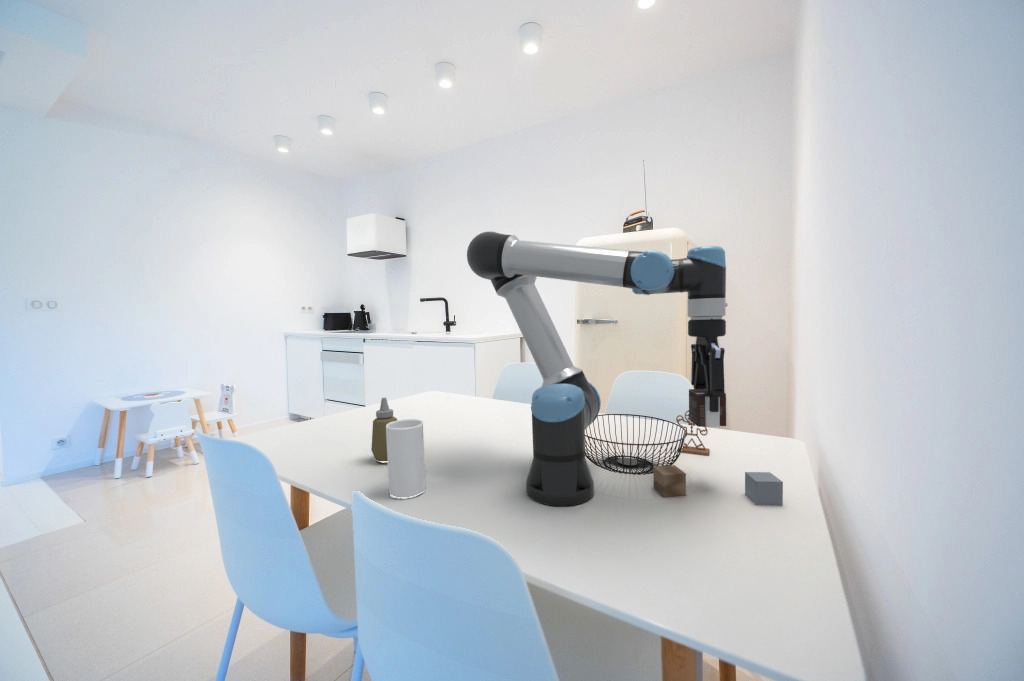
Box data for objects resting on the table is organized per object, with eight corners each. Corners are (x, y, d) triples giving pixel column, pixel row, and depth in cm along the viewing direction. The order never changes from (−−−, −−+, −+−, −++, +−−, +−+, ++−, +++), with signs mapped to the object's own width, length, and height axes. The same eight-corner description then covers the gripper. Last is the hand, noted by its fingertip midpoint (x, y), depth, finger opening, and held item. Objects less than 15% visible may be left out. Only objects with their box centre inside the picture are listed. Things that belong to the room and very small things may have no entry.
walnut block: (663, 497, 87) (663, 475, 86) (653, 488, 92) (653, 466, 91) (686, 496, 87) (685, 473, 87) (674, 486, 92) (674, 465, 92)
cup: (432, 487, 96) (430, 420, 95) (410, 502, 88) (407, 429, 87) (405, 482, 99) (402, 418, 98) (381, 496, 92) (377, 426, 91)
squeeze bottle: (396, 465, 111) (393, 400, 110) (367, 466, 111) (364, 401, 110) (405, 455, 119) (402, 394, 118) (377, 456, 119) (374, 395, 118)
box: (715, 420, 93) (715, 388, 93) (727, 427, 87) (726, 393, 87) (688, 420, 94) (688, 388, 93) (697, 427, 88) (697, 393, 87)
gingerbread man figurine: (709, 451, 114) (709, 409, 113) (708, 456, 110) (708, 412, 110) (676, 447, 118) (675, 407, 118) (674, 451, 115) (673, 410, 114)
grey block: (756, 505, 82) (756, 481, 82) (745, 494, 87) (745, 471, 87) (782, 506, 81) (782, 481, 81) (769, 495, 86) (770, 472, 86)
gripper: (743, 318, 79) (743, 434, 80) (708, 317, 98) (709, 412, 99) (703, 319, 80) (704, 434, 81) (676, 318, 99) (677, 412, 100)
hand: (706, 421), depth 90 cm, fingers closed on box, 6 cm apart
